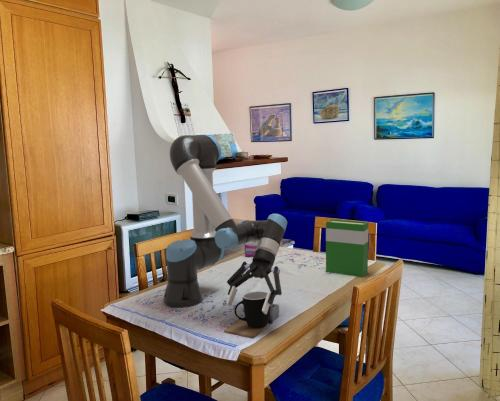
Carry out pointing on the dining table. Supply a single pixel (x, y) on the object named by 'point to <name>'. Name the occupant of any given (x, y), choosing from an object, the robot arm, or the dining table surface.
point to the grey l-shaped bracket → (273, 312)
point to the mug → (254, 309)
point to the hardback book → (347, 247)
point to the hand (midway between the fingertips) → (245, 308)
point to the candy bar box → (250, 248)
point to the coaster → (244, 329)
